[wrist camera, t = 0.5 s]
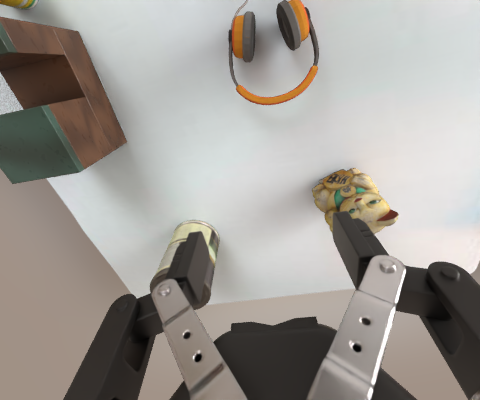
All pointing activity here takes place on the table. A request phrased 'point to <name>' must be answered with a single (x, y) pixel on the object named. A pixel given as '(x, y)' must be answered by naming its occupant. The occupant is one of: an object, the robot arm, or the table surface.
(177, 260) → the robot arm
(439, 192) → the table surface
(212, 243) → the coffee can
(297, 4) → the headphones
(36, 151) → the notched wooden block
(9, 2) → the supplement bottle
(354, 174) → the decorative figurine
